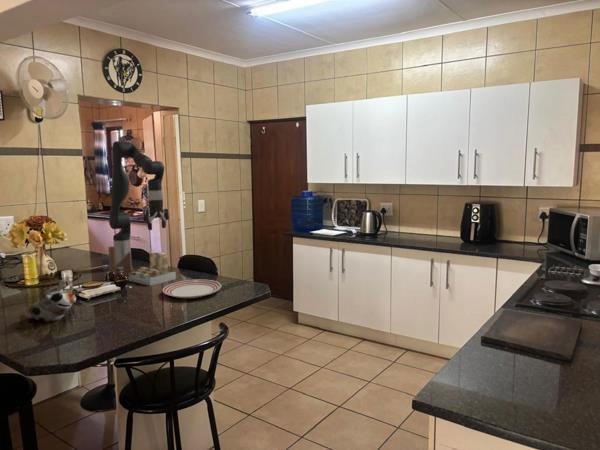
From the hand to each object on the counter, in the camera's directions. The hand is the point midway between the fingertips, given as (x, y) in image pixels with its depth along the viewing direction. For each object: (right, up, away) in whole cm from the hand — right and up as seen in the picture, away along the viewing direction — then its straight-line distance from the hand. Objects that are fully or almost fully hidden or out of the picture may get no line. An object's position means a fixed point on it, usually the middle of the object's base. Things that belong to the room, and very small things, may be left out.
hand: (157, 229), depth 238 cm
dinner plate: (+25, -31, -25) cm, 47 cm away
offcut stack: (-5, -28, -3) cm, 28 cm away
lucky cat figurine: (-23, -36, -59) cm, 72 cm away
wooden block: (-20, -27, +2) cm, 34 cm away
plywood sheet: (0, -27, +4) cm, 27 cm away
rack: (-3, -27, 0) cm, 28 cm away
